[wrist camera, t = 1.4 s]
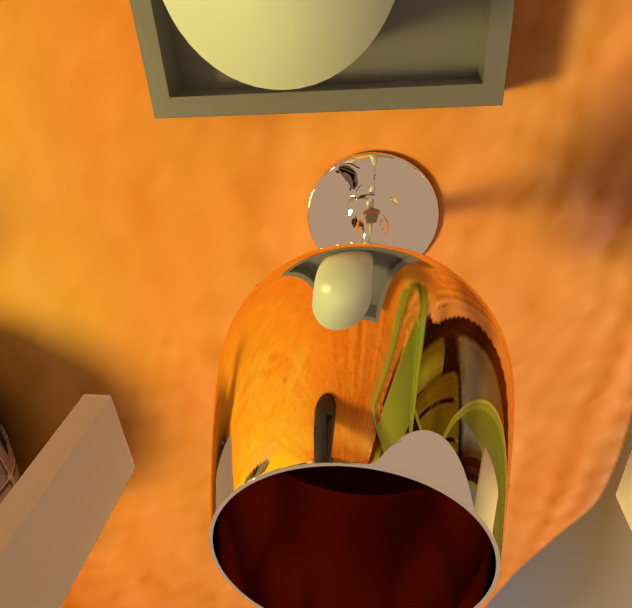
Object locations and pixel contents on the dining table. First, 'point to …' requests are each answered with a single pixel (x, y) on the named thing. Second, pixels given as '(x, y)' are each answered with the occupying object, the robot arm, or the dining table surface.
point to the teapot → (7, 465)
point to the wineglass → (363, 413)
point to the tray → (355, 80)
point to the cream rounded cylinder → (279, 37)
